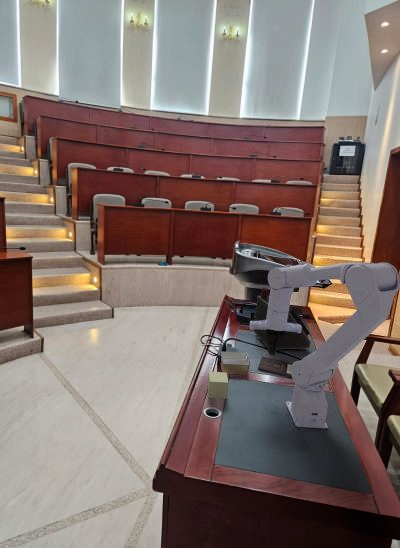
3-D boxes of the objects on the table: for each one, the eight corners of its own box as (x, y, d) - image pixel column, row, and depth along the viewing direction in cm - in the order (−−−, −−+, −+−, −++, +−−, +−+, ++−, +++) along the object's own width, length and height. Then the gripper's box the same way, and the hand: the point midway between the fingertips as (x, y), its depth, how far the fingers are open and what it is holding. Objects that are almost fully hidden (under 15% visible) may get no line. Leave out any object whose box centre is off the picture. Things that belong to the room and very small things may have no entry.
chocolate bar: (262, 356, 114) (316, 368, 108) (261, 358, 114) (315, 371, 108) (257, 367, 105) (316, 382, 100) (257, 370, 105) (315, 385, 100)
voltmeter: (309, 351, 122) (318, 300, 117) (268, 352, 118) (276, 300, 113) (289, 333, 137) (296, 287, 132) (252, 333, 133) (258, 286, 128)
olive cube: (226, 399, 89) (228, 382, 88) (208, 397, 88) (209, 381, 87) (224, 388, 94) (226, 372, 92) (207, 387, 93) (208, 371, 92)
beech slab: (249, 365, 101) (244, 352, 109) (223, 363, 101) (220, 351, 108) (247, 375, 102) (243, 362, 110) (222, 374, 101) (219, 361, 109)
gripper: (298, 306, 96) (291, 348, 99) (250, 302, 95) (244, 345, 98) (307, 315, 89) (299, 360, 92) (254, 311, 88) (248, 356, 91)
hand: (271, 353), depth 95 cm, fingers closed
